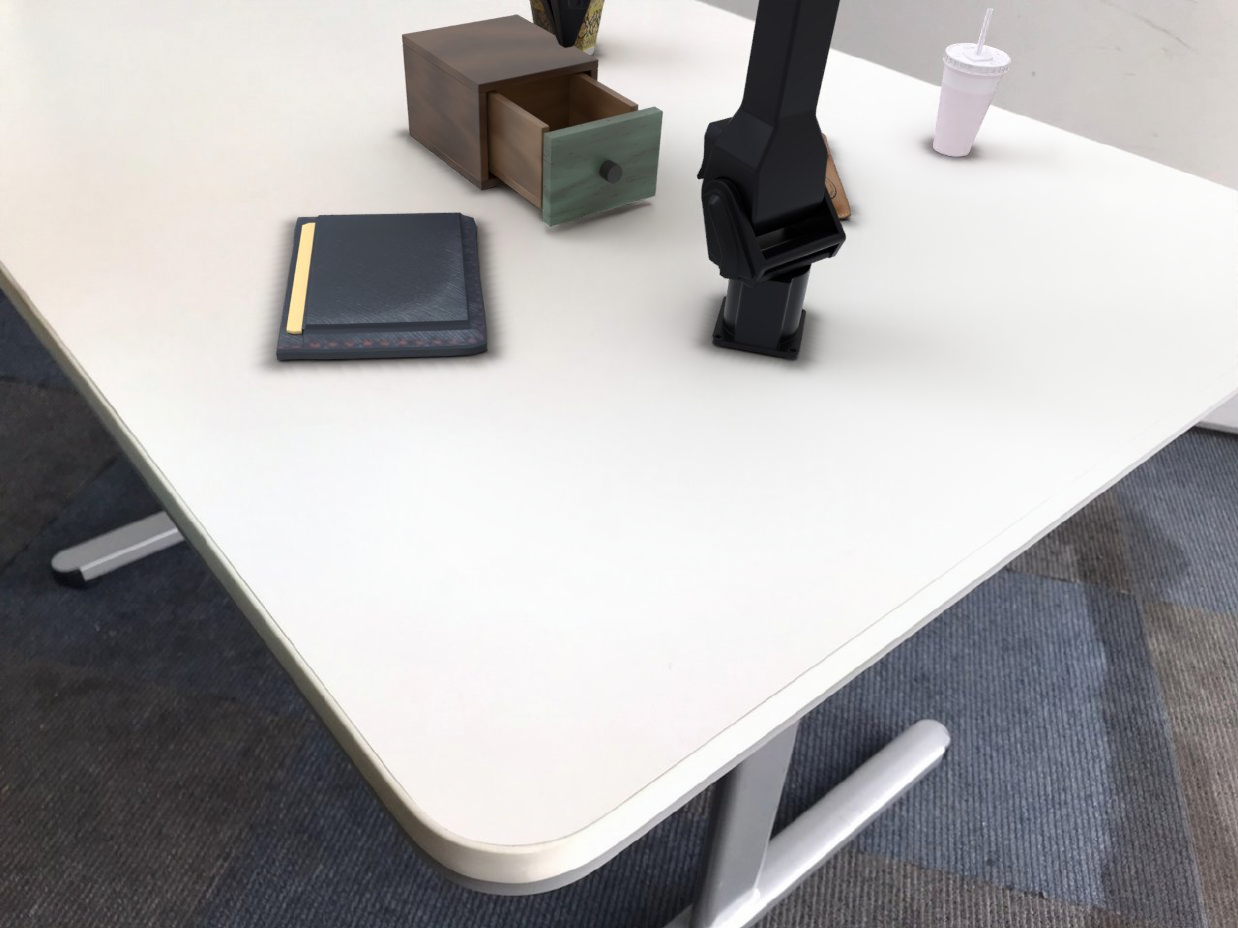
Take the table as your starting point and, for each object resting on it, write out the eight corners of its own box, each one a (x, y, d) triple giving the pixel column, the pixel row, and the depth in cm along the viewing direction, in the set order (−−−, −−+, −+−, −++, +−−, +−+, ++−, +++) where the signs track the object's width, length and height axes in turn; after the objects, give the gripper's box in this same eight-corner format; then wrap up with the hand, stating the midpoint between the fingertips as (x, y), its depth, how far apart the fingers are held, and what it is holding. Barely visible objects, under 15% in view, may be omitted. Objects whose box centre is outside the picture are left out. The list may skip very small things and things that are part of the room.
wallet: (487, 335, 72) (263, 339, 70) (487, 357, 73) (267, 362, 71) (480, 201, 86) (295, 202, 84) (481, 222, 88) (299, 222, 86)
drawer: (663, 201, 91) (672, 116, 86) (558, 233, 85) (560, 144, 80) (575, 143, 99) (578, 62, 93) (473, 169, 93) (470, 84, 88)
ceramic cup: (623, 49, 121) (628, -41, 115) (576, 73, 115) (579, -21, 108) (534, 24, 126) (534, -64, 119) (484, 45, 119) (482, -47, 113)
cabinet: (594, 160, 98) (598, 59, 92) (481, 190, 92) (478, 84, 86) (517, 110, 106) (517, 14, 100) (409, 134, 100) (401, 34, 94)
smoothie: (912, 152, 104) (950, 9, 95) (928, 130, 109) (966, -8, 99) (974, 168, 102) (1019, 24, 93) (988, 145, 107) (1032, 6, 97)
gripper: (740, -153, 73) (713, 67, 83) (588, -201, 83) (581, -1, 94) (615, -142, 67) (603, 92, 78) (469, -194, 78) (476, 17, 88)
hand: (566, 46), depth 84 cm, fingers closed
